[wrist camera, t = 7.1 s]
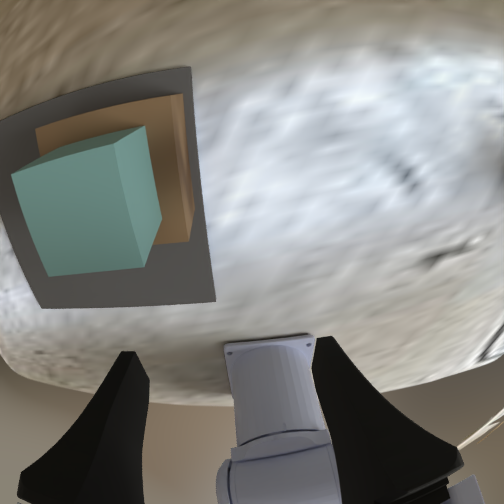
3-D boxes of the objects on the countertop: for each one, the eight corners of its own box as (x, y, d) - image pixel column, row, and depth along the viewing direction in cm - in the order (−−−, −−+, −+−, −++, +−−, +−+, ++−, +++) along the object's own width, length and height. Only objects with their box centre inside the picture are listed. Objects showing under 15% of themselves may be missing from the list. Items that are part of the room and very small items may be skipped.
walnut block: (195, 208, 18) (188, 241, 14) (92, 220, 17) (68, 253, 14) (182, 93, 14) (170, 95, 11) (70, 117, 14) (35, 129, 10)
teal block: (162, 218, 14) (144, 267, 10) (82, 230, 13) (48, 276, 10) (145, 125, 11) (113, 143, 8) (59, 147, 11) (10, 174, 8)
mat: (215, 298, 22) (216, 301, 22) (43, 305, 21) (41, 308, 21) (191, 67, 14) (190, 66, 13) (-17, 130, 13) (-20, 131, 12)
